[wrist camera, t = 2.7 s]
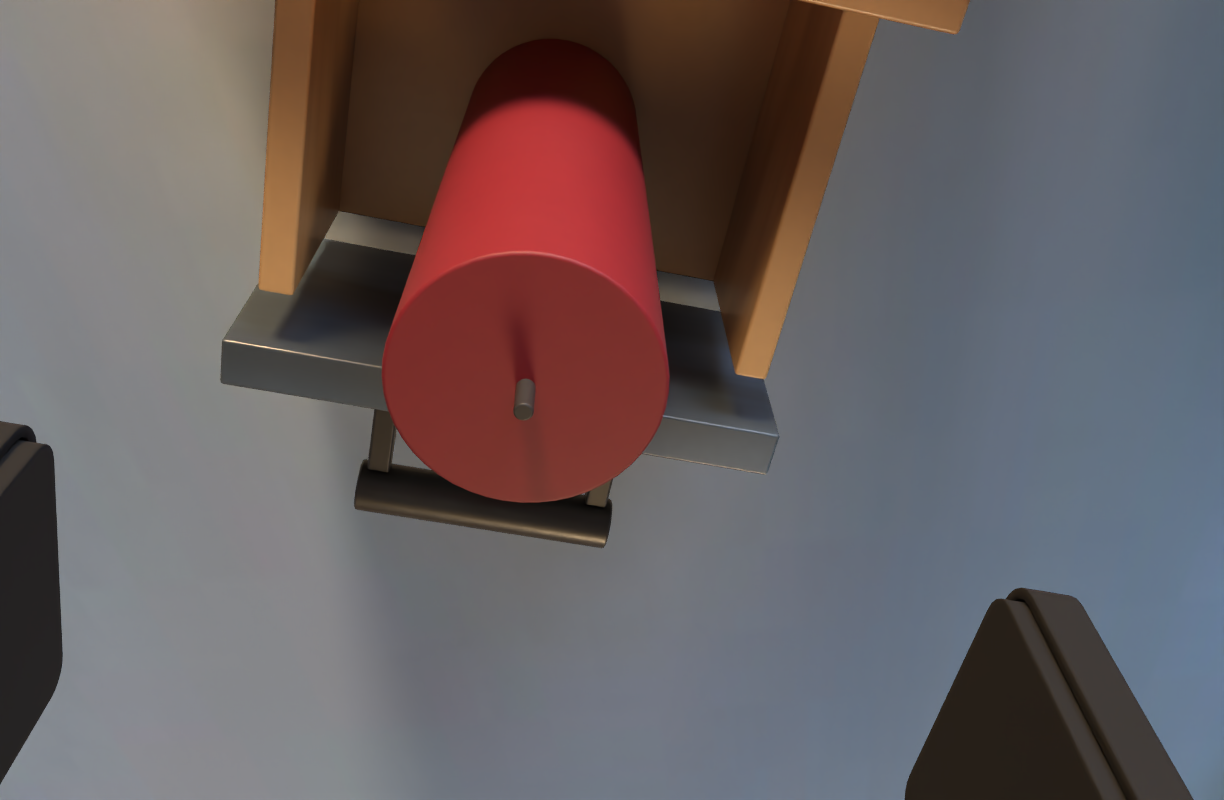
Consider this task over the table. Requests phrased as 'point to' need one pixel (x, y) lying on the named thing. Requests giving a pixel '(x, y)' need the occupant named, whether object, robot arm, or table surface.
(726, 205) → the drawer
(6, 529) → the robot arm
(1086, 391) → the table surface
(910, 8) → the cabinet
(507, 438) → the candle
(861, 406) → the table surface
